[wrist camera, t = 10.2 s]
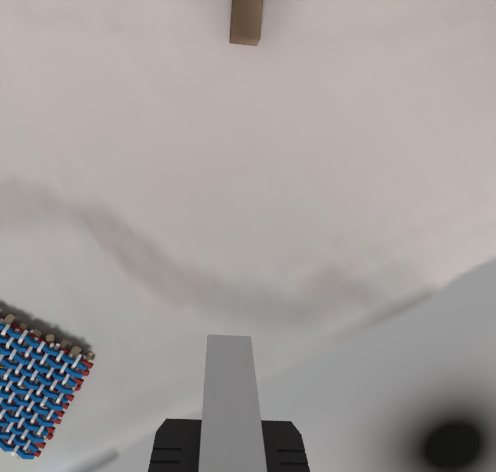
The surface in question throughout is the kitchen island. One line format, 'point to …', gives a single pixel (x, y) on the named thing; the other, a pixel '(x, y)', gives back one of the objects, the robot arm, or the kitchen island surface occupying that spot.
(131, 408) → the kitchen island surface
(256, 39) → the walnut T rail
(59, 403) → the woven mat
